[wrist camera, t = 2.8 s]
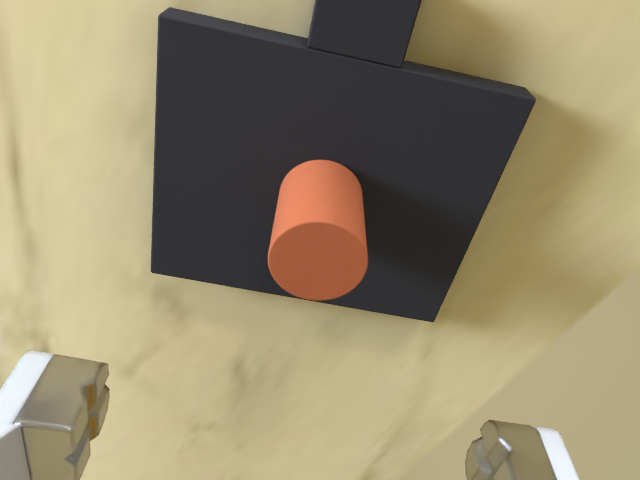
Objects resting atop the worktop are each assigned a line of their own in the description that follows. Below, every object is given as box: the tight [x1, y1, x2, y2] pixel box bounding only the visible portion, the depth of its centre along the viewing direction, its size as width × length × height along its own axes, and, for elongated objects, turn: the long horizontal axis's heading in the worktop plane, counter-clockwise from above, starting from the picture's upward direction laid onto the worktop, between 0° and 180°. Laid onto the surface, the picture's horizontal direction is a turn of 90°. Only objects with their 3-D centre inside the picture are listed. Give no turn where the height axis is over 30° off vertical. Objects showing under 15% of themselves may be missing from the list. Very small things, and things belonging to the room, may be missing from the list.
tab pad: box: [151, 0, 536, 322], centre depth 17 cm, size 12×12×5 cm
